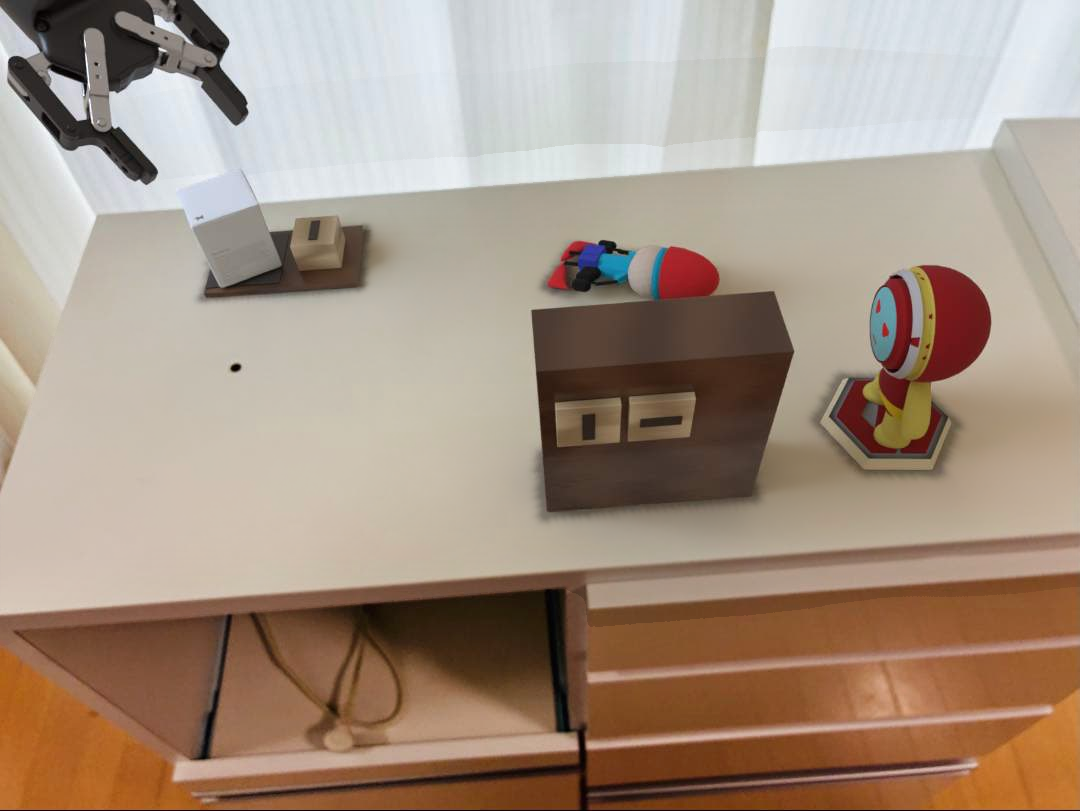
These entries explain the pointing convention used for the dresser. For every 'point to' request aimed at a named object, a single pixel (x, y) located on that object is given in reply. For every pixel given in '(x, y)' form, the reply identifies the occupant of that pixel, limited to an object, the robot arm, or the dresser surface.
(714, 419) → the dark wooden block
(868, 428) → the figurine
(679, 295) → the toy figure
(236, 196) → the product box
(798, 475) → the dresser surface
